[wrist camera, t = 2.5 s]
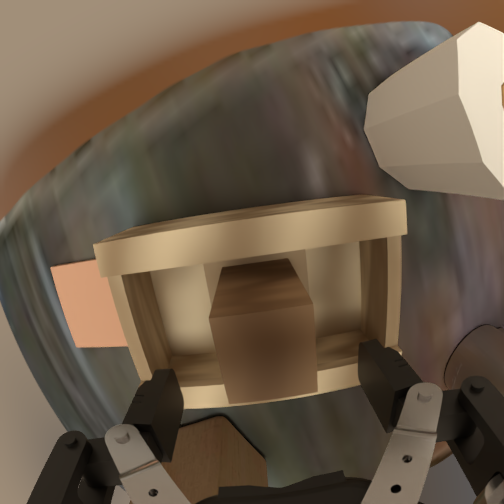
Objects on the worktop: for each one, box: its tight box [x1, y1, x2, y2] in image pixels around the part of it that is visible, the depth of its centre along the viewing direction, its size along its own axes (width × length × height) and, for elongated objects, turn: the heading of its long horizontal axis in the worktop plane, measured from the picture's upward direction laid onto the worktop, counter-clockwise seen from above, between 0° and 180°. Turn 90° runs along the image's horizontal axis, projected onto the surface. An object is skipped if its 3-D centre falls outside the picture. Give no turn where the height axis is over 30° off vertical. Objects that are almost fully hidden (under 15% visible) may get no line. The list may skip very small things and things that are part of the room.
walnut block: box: [209, 258, 318, 404], centre depth 17 cm, size 4×5×8 cm
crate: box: [93, 194, 407, 409], centre depth 20 cm, size 18×12×7 cm, turn 98°
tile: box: [51, 259, 128, 347], centre depth 23 cm, size 8×8×1 cm
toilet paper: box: [364, 22, 504, 200], centre depth 15 cm, size 10×10×12 cm
